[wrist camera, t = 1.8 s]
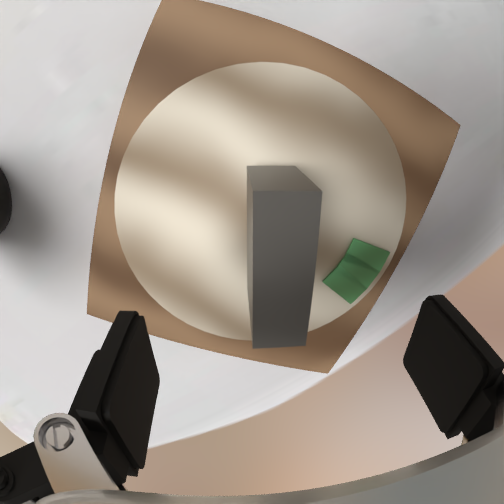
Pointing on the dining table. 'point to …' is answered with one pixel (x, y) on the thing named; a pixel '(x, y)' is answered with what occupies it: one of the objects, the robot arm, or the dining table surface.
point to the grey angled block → (281, 254)
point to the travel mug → (4, 202)
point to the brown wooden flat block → (235, 178)
